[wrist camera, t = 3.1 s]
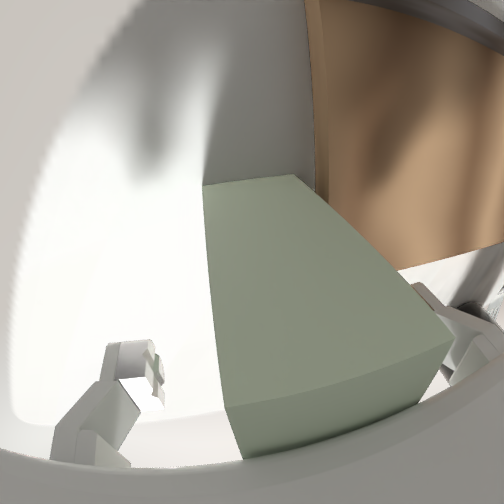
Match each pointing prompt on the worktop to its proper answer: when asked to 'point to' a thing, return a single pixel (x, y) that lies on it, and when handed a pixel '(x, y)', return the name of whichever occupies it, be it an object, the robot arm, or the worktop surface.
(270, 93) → the worktop surface
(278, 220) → the carton
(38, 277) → the worktop surface
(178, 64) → the worktop surface
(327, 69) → the shelf board
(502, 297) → the fork
